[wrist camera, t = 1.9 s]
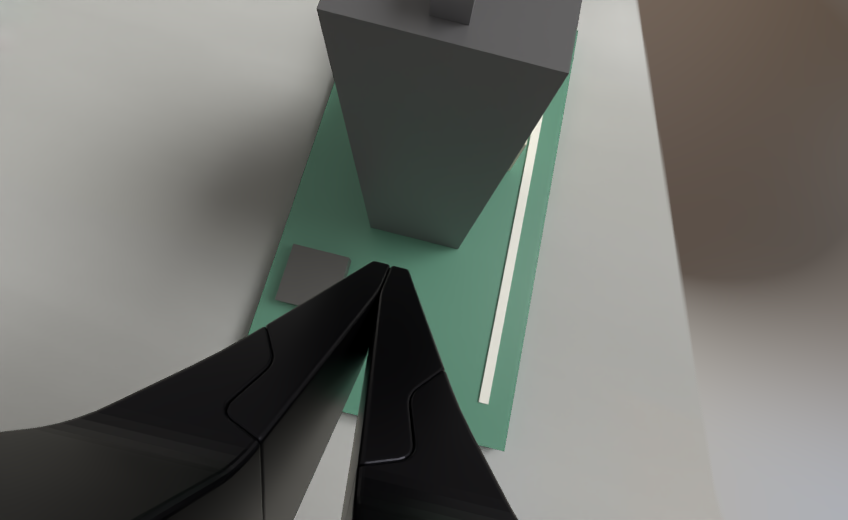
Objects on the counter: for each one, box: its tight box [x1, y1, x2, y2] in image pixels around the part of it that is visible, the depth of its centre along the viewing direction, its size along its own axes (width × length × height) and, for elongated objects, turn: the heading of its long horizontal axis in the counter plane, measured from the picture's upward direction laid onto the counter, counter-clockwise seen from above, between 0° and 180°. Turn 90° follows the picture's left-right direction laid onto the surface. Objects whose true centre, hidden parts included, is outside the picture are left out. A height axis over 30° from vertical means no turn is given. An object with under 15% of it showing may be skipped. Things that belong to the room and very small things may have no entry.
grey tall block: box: [317, 0, 582, 249], centre depth 14 cm, size 8×5×15 cm, turn 166°
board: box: [248, 31, 578, 451], centre depth 19 cm, size 26×14×6 cm, turn 166°
